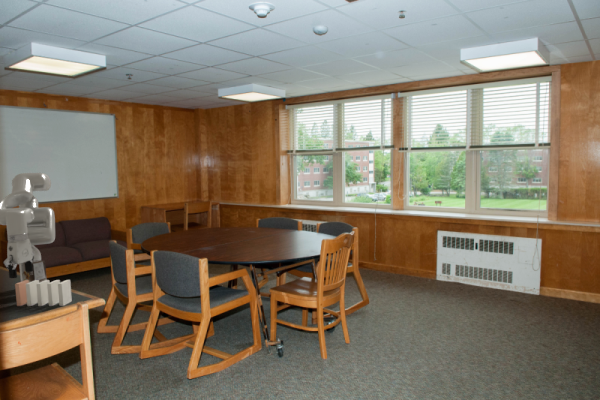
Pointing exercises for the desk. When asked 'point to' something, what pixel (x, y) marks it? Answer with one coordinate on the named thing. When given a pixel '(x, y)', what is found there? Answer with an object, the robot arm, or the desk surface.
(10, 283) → the desk surface
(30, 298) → the domino
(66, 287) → the domino
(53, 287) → the domino
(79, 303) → the desk surface
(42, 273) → the coffee box
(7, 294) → the desk surface
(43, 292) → the domino
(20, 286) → the domino
